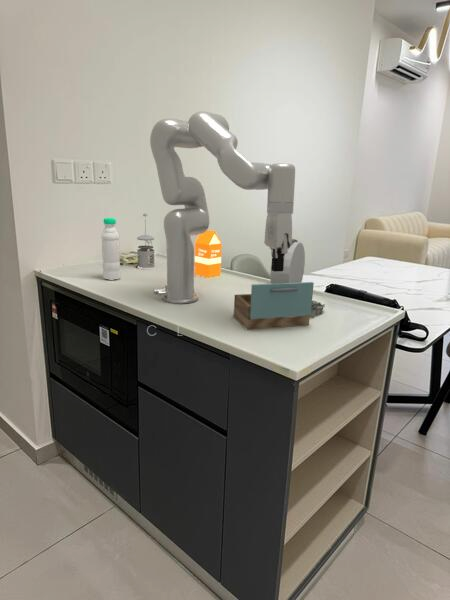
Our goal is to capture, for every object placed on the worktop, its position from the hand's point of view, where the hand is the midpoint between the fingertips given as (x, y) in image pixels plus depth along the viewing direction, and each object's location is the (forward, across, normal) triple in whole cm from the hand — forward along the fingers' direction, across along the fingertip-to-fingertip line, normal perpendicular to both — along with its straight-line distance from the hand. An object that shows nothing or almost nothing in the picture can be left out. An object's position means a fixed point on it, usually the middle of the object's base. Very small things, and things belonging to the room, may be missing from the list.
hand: (277, 270), depth 133 cm
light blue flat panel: (+13, +5, 0) cm, 14 cm away
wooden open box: (+16, -2, -1) cm, 16 cm away
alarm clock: (+16, -39, +21) cm, 47 cm away
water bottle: (+15, -66, -46) cm, 81 cm away
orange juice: (+15, -66, -5) cm, 68 cm away
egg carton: (+17, -7, +15) cm, 24 cm away
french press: (+14, -88, -29) cm, 93 cm away
